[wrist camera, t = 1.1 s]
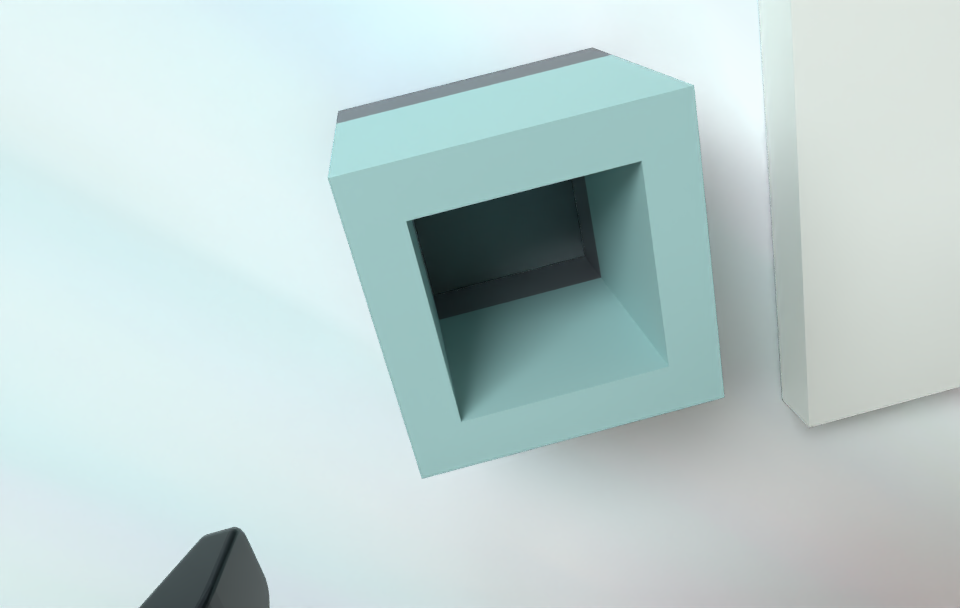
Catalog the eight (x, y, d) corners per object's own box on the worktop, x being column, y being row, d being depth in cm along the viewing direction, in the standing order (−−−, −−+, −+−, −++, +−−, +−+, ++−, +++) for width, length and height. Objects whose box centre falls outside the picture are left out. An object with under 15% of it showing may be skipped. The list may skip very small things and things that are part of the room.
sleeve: (627, 281, 20) (724, 397, 15) (405, 339, 20) (421, 478, 15) (592, 47, 18) (693, 85, 12) (338, 111, 18) (327, 178, 12)
